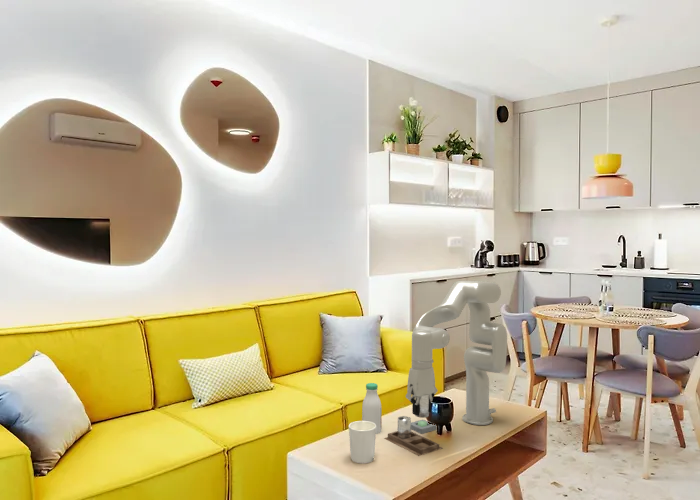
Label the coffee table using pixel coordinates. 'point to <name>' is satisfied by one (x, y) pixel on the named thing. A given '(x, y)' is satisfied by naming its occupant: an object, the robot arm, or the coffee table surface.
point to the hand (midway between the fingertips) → (421, 412)
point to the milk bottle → (372, 407)
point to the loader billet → (404, 427)
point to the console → (423, 429)
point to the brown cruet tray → (414, 443)
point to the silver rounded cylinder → (423, 406)
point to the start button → (422, 423)
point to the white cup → (362, 441)
